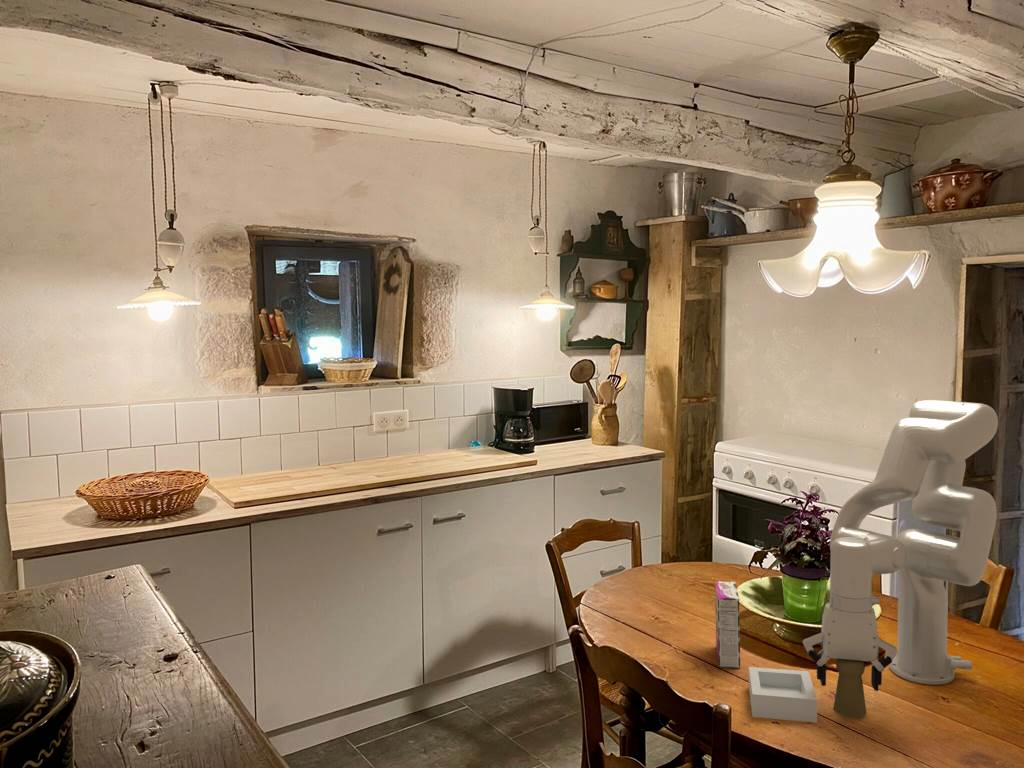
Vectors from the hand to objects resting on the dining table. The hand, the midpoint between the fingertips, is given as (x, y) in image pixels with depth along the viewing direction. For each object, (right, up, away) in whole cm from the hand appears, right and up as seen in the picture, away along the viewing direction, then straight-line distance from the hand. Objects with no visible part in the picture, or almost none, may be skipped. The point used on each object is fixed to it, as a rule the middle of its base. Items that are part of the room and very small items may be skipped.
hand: (848, 685), depth 153 cm
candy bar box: (-17, -4, +26) cm, 31 cm away
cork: (+1, -6, +1) cm, 6 cm away
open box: (-12, -6, +4) cm, 14 cm away
